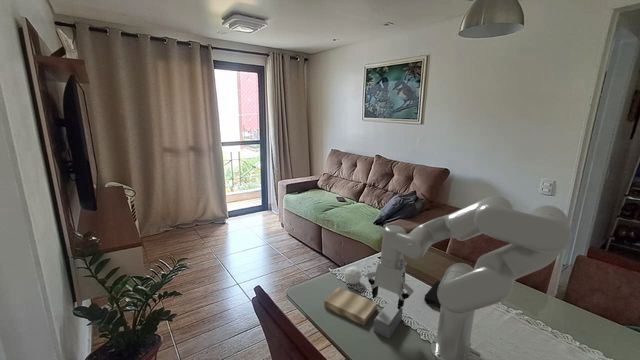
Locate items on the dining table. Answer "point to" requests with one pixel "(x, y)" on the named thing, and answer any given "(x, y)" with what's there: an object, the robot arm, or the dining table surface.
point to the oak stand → (351, 305)
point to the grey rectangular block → (388, 320)
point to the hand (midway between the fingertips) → (387, 301)
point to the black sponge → (433, 295)
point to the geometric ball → (352, 275)
